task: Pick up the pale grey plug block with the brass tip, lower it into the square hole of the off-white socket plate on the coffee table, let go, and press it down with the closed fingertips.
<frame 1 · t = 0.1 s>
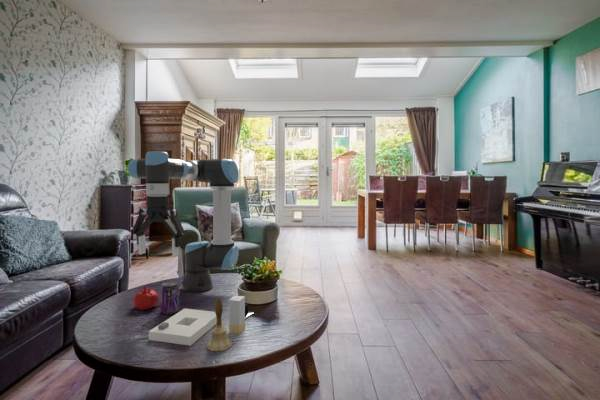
hand: (158, 255, 126), 28 cm above the table, tool pointing down, fingers open, 13 cm apart
pomegranate: (146, 307, 151), on the table
hand bell: (219, 346, 117), on the table
socket plate: (187, 329, 130), on the table
plug: (237, 330, 129), on the table
beverage can: (170, 312, 146), on the table
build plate: (242, 316, 144), on the table
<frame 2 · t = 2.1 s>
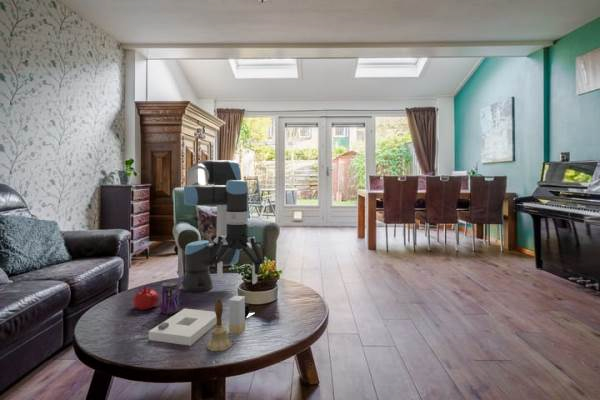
hand: (237, 281, 128), 18 cm above the table, tool pointing down, fingers open, 13 cm apart
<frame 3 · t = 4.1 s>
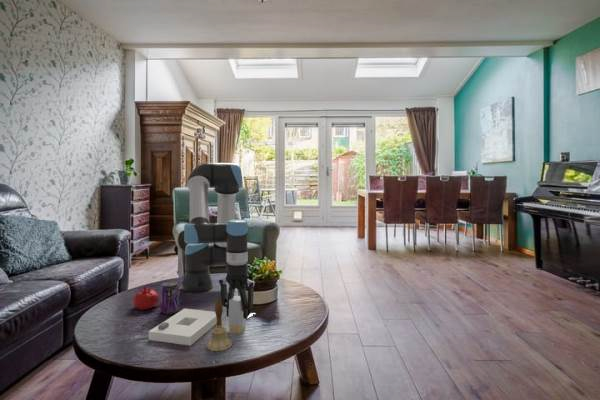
hand: (237, 325, 129), 2 cm above the table, tool pointing down, fingers closed on plug, 4 cm apart
plug: (237, 330, 129), on the table, touching gripper
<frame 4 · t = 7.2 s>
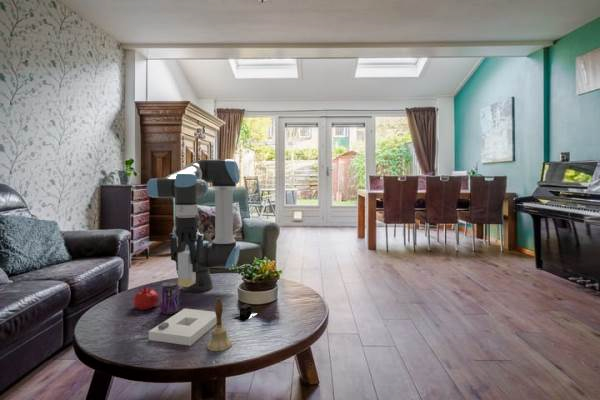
hand: (186, 279, 128), 18 cm above the table, tool pointing down, fingers closed on plug, 4 cm apart
plug: (186, 284, 128), point 17 cm above the table, touching gripper
when the fingers open (6 cm above the table, at t = 10.1 s): plug drops 4 cm, resting in socket plate.
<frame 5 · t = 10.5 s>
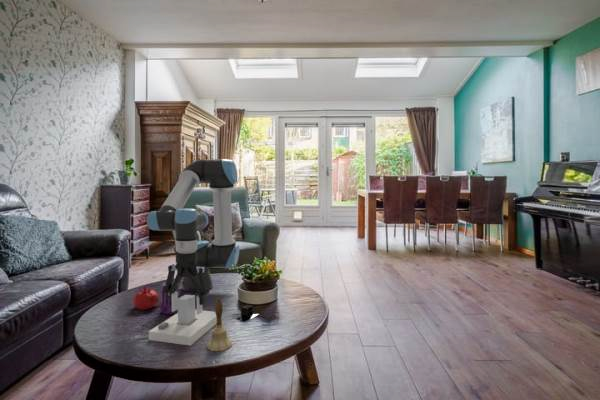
hand: (187, 311, 129), 7 cm above the table, tool pointing down, fingers open, 9 cm apart
plug: (187, 329, 130), resting in socket plate
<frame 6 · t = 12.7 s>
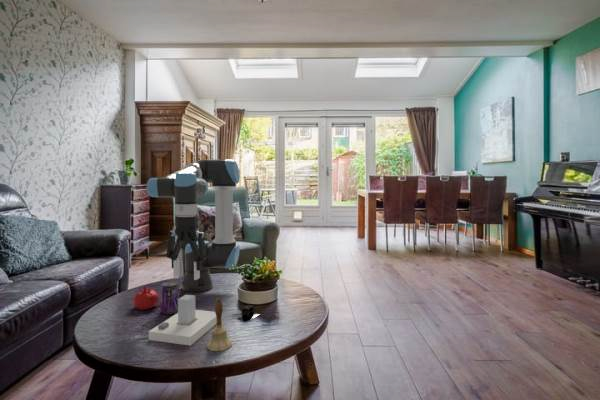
hand: (186, 277, 128), 19 cm above the table, tool pointing down, fingers open, 8 cm apart
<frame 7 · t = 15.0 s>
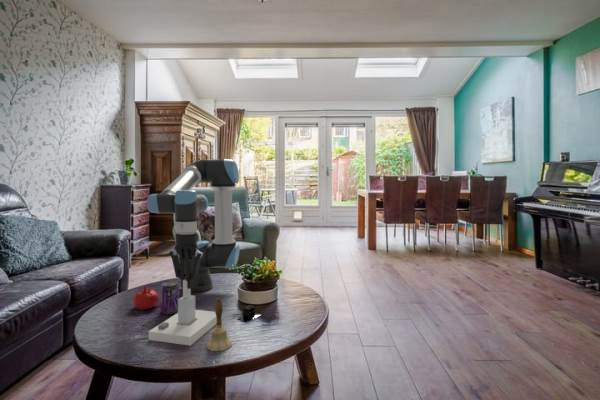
hand: (186, 296, 129), 12 cm above the table, tool pointing down, fingers closed
plug: (187, 329, 130), resting in socket plate, touching gripper
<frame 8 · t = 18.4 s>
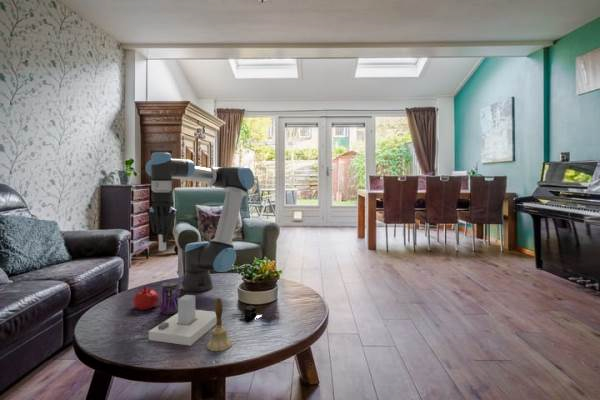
hand: (162, 250, 142), 26 cm above the table, tool pointing down, fingers closed
plug: (187, 329, 130), resting in socket plate
at the end: plug 0.1 cm off-centre on the socket plate, point 0.0 cm above the socket plate's base; plug tilted 0°; the gripper is holding nothing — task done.
